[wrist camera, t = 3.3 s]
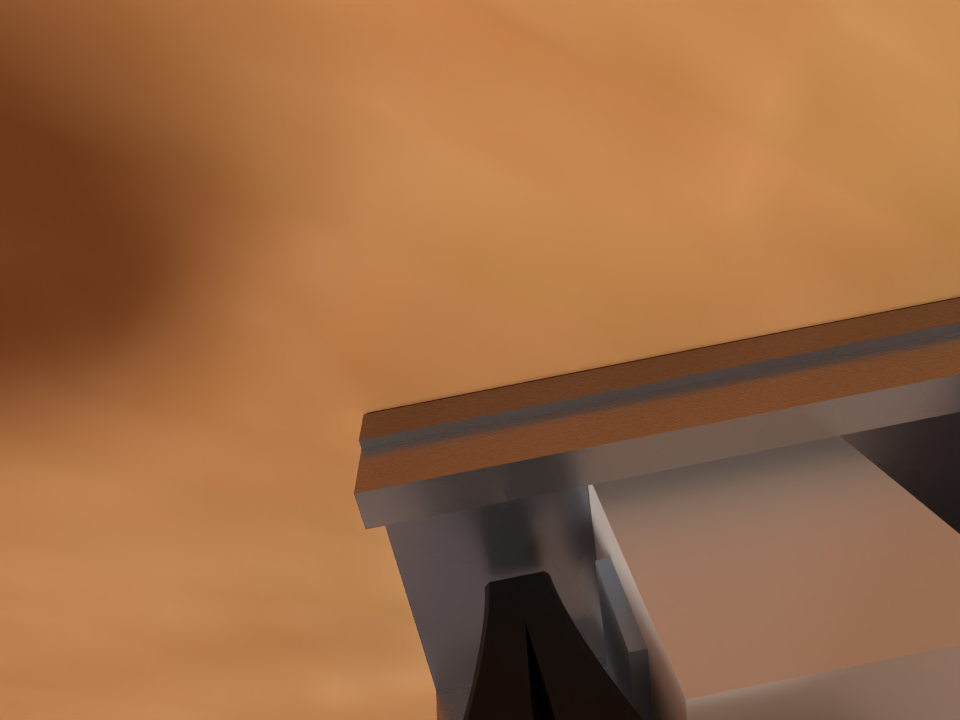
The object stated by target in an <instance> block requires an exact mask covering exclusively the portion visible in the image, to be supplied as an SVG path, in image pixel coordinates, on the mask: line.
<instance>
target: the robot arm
mask: <svg viewBox="0 0 960 720" xmlns="http://www.w3.org/2000/svg"><path fill="white" fill-rule="evenodd" d="M544 717H545V718H544ZM463 720H643V719H642V717H641V716H640V715H639V714H638V713H637V711H636V710H635V709H634V708H633V706H632V705H631V704H630V703H629V701H628V700H627V699H626V697H625V696H624V695H623V693H622V692H621V691H620V690H619V688H618V687H617V686H616V684H615V683H614V682H613V680H612V679H611V678H610V676H609V675H608V673H607V672H606V671H605V669H604V668H603V667H602V665H601V664H600V662H599V661H598V659H597V658H596V656H595V655H594V653H593V652H592V650H591V649H590V647H589V646H588V644H587V643H586V641H585V640H584V638H583V637H582V635H581V634H580V632H579V631H578V629H577V627H576V626H575V624H574V622H573V621H572V619H571V617H570V615H569V614H568V612H567V610H566V608H565V607H564V605H563V603H562V601H561V599H560V597H559V595H558V593H557V591H556V589H555V586H554V584H553V582H552V579H551V576H550V574H548V573H546V572H545V571H542V572H537V573H532V574H527V575H522V576H517V577H512V578H507V579H502V580H497V581H492V582H489V583H488V584H487V585H486V586H485V606H484V618H483V627H482V634H481V641H480V647H479V652H478V657H477V663H476V668H475V673H474V678H473V683H472V687H471V691H470V695H469V699H468V703H467V707H466V711H465V715H464V719H463Z"/></svg>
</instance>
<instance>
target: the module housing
mask: <svg viewBox="0 0 960 720" xmlns="http://www.w3.org/2000/svg"><path fill="white" fill-rule="evenodd" d="M835 436H841V437H842V438H843V439H844V440H846V441H847V442H848V443H849V444H850V445H852V446H853V447H854V448H855V449H857V450H858V451H859V452H860V453H861V454H863V455H864V456H865V457H866V458H867V459H869V460H870V461H871V462H872V463H874V464H875V465H876V466H877V467H878V468H880V469H881V470H882V471H883V472H885V473H886V474H887V475H888V476H889V477H891V478H892V479H893V480H894V481H896V482H897V483H898V484H899V485H900V486H902V487H903V488H904V489H905V490H907V491H908V492H909V493H910V494H911V495H913V496H914V497H915V498H916V499H918V500H919V501H920V502H921V503H922V504H924V505H925V506H926V507H927V508H928V509H930V510H931V511H932V512H933V513H935V514H936V515H937V516H938V517H939V518H941V519H942V520H943V521H944V522H946V523H947V524H948V525H949V526H950V527H952V528H953V529H954V530H955V531H957V532H958V533H959V534H960V298H956V299H951V300H946V301H941V302H936V303H931V304H926V305H921V306H915V307H910V308H905V309H900V310H895V311H890V312H885V313H880V314H875V315H869V316H864V317H859V318H854V319H849V320H844V321H839V322H834V323H829V324H823V325H818V326H813V327H808V328H803V329H798V330H793V331H788V332H783V333H778V334H772V335H767V336H762V337H757V338H752V339H747V340H742V341H737V342H732V343H726V344H721V345H716V346H711V347H706V348H701V349H696V350H691V351H686V352H681V353H675V354H670V355H665V356H660V357H655V358H650V359H645V360H640V361H635V362H629V363H624V364H619V365H614V366H609V367H604V368H599V369H594V370H589V371H584V372H578V373H573V374H568V375H563V376H558V377H553V378H548V379H543V380H538V381H532V382H527V383H522V384H517V385H512V386H507V387H502V388H497V389H492V390H487V391H481V392H476V393H471V394H466V395H461V396H456V397H451V398H446V399H441V400H435V401H430V402H425V403H420V404H415V405H410V406H405V407H400V408H395V409H389V410H384V411H379V412H374V413H369V414H364V416H363V421H362V426H361V432H360V437H359V442H360V445H361V449H362V450H361V455H360V461H359V467H358V473H357V479H356V485H355V490H354V495H355V498H356V501H357V504H358V508H359V511H360V514H361V517H362V520H363V523H364V526H365V529H370V528H375V527H380V526H386V529H387V533H388V536H389V539H390V542H391V546H392V549H393V552H394V555H395V559H396V562H397V565H398V568H399V572H400V575H401V578H402V581H403V584H404V588H405V591H406V594H407V597H408V601H409V604H410V607H411V610H412V614H413V617H414V620H415V623H416V627H417V630H418V633H419V636H420V639H421V643H422V646H423V649H424V652H425V656H426V659H427V662H428V665H429V669H430V672H431V675H432V678H433V681H434V685H435V688H436V698H437V720H463V719H464V715H465V711H466V707H467V703H468V699H469V695H470V691H471V687H472V683H473V678H474V673H475V668H476V663H477V657H478V652H479V647H480V641H481V634H482V627H483V618H484V606H485V586H486V585H487V584H488V583H489V582H492V581H497V580H502V579H507V578H512V577H517V576H522V575H527V574H532V573H537V572H542V571H545V572H546V573H548V574H550V576H551V579H552V582H553V584H554V586H555V589H556V591H557V593H558V595H559V597H560V599H561V601H562V603H563V605H564V607H565V608H566V610H567V612H568V614H569V615H570V617H571V619H572V621H573V622H574V624H575V626H576V627H577V629H578V631H579V632H580V634H581V635H582V637H583V638H584V640H585V641H586V643H587V644H588V646H589V647H590V649H591V650H592V652H593V653H594V655H595V656H596V658H597V659H598V661H599V662H600V664H601V665H602V667H603V668H604V669H605V671H606V672H607V673H608V675H609V676H610V673H609V670H608V667H607V659H606V650H605V641H604V633H603V624H602V616H601V607H600V598H599V590H598V581H597V573H596V564H595V561H597V559H596V551H595V542H594V533H593V524H592V516H591V507H590V498H589V490H588V485H592V484H598V483H603V482H608V481H613V480H618V479H623V478H628V477H633V476H638V475H643V474H648V473H653V472H658V471H663V470H668V469H673V468H678V467H684V466H689V465H694V464H699V463H704V462H709V461H714V460H719V459H724V458H729V457H734V456H739V455H744V454H749V453H754V452H759V451H764V450H769V449H775V448H780V447H785V446H790V445H795V444H800V443H805V442H810V441H815V440H820V439H825V438H830V437H835ZM610 678H611V676H610ZM544 718H545V717H544Z"/></svg>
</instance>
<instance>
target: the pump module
mask: <svg viewBox="0 0 960 720" xmlns="http://www.w3.org/2000/svg"><path fill="white" fill-rule="evenodd" d="M588 490H589V498H590V507H591V516H592V524H593V533H594V542H595V551H596V559H597V561H595V564H596V573H597V581H598V590H599V598H600V607H601V616H602V624H603V633H604V641H605V650H606V659H607V667H608V670H609V673H610V676H611V679H612V680H613V682H614V683H615V684H616V686H617V687H618V688H619V690H620V691H621V692H622V693H623V695H624V696H625V697H626V699H627V700H628V701H629V703H630V704H631V705H632V706H633V708H634V709H635V710H636V711H637V713H638V714H639V715H640V716H641V717H642V719H643V720H960V534H959V533H958V532H957V531H955V530H954V529H953V528H952V527H950V526H949V525H948V524H947V523H946V522H944V521H943V520H942V519H941V518H939V517H938V516H937V515H936V514H935V513H933V512H932V511H931V510H930V509H928V508H927V507H926V506H925V505H924V504H922V503H921V502H920V501H919V500H918V499H916V498H915V497H914V496H913V495H911V494H910V493H909V492H908V491H907V490H905V489H904V488H903V487H902V486H900V485H899V484H898V483H897V482H896V481H894V480H893V479H892V478H891V477H889V476H888V475H887V474H886V473H885V472H883V471H882V470H881V469H880V468H878V467H877V466H876V465H875V464H874V463H872V462H871V461H870V460H869V459H867V458H866V457H865V456H864V455H863V454H861V453H860V452H859V451H858V450H857V449H855V448H854V447H853V446H852V445H850V444H849V443H848V442H847V441H846V440H844V439H843V438H842V437H841V436H835V437H830V438H825V439H820V440H815V441H810V442H805V443H800V444H795V445H790V446H785V447H780V448H775V449H769V450H764V451H759V452H754V453H749V454H744V455H739V456H734V457H729V458H724V459H719V460H714V461H709V462H704V463H699V464H694V465H689V466H684V467H678V468H673V469H668V470H663V471H658V472H653V473H648V474H643V475H638V476H633V477H628V478H623V479H618V480H613V481H608V482H603V483H598V484H592V485H588Z"/></svg>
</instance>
